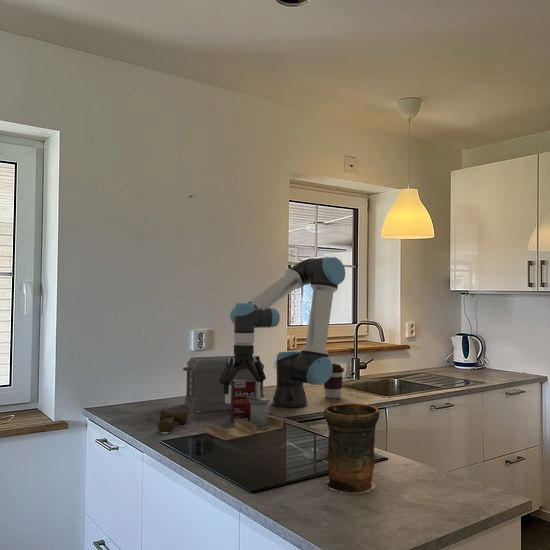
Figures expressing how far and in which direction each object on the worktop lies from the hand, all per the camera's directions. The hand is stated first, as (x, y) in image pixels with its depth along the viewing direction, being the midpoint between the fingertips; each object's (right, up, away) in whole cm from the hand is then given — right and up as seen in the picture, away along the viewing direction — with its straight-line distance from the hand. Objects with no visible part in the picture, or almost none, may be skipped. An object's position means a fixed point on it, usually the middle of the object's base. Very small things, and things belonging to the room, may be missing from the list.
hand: (242, 401), depth 210 cm
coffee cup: (+39, -10, +50) cm, 64 cm away
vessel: (+32, -7, -65) cm, 73 cm away
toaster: (-9, -9, +30) cm, 33 cm away
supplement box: (0, -8, 0) cm, 8 cm away
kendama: (-25, -8, -7) cm, 28 cm away
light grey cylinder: (+6, -7, -11) cm, 15 cm away
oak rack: (+2, -8, -15) cm, 17 cm away
